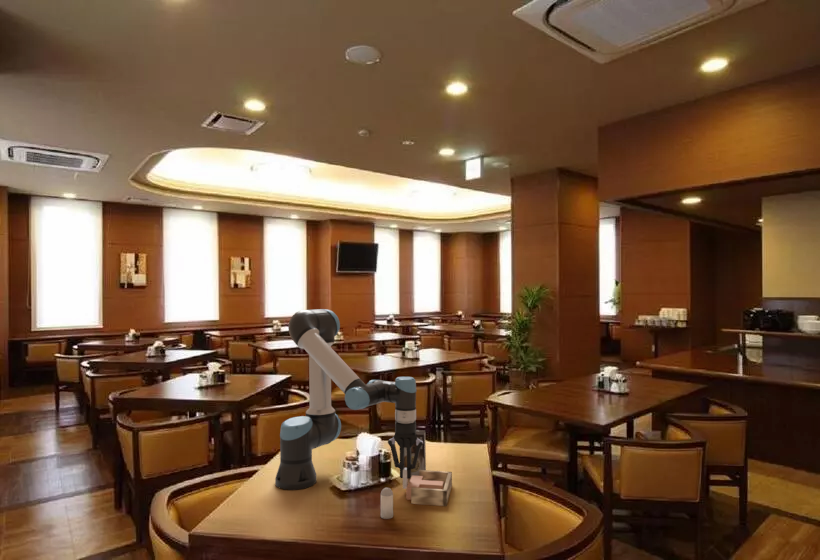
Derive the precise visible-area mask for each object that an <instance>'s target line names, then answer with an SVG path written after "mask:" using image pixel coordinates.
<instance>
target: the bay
mask: <svg viewBox="0 0 820 560" xmlns="http://www.w3.org/2000/svg"><path fill="white" fill-rule="evenodd" d="M418 476H423V480H429V481H443V488H444V489H430V488H415V487H412V488H411V500H410V502H411V503H410V504H413V505H414V504H415V505H425V506H426V505H427V506H439V507H447V506H448V503H449V499H450V494H451V490H452V487H453V479H452V478H453V473H452V471H446V470H445V471H442V470H441V471H440V470H439V471H438V470H430V469H429V470H427V469H426V470H420V471H419V475H418Z"/></svg>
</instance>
